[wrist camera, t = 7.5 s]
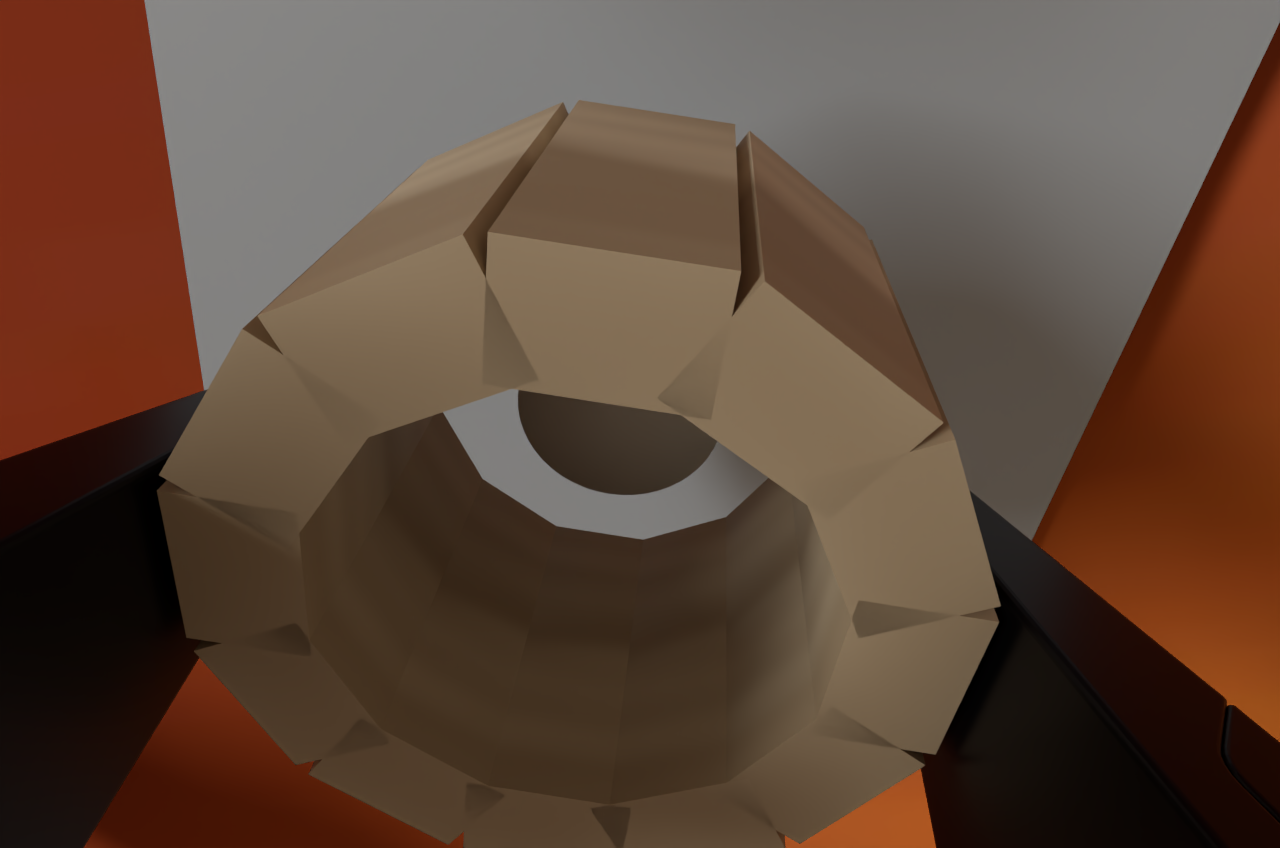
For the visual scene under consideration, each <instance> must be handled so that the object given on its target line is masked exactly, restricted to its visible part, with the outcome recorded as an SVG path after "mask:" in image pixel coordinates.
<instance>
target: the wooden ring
mask: <svg viewBox="0 0 1280 848" xmlns="http://www.w3.org/2000/svg"><path fill="white" fill-rule="evenodd" d="M510 389H516V390H522V391H529V392H535V393H541V394H548V395H554V396H561V397H567V398H574V399H580V400H587V401H593V402H599V403H606V404H612V405H619V406H625V407H632V408H638V409H644V410H651V411H657V412H664V413H670V414H677V415H681V416H683V417H684V418H686V419H687V420H688V421H690V422H691V423H693V424H694V425H695V426H697V427H698V428H700V429H701V430H702V431H704V432H705V433H707V434H708V435H709V436H711V437H712V438H714V439H715V440H716V441H718V442H719V443H721V444H722V445H723V446H725V447H726V448H728V449H729V450H730V451H732V452H733V453H735V454H736V455H737V456H739V457H740V458H742V459H743V460H744V461H746V462H747V463H749V464H750V465H751V466H753V467H754V468H756V469H757V470H758V471H760V472H761V473H763V474H764V475H765V476H767V477H768V479H767V480H766V481H765V482H763V483H762V484H761V485H760V486H759V487H758V488H757V489H756V490H755V491H754V492H753V493H752V494H750V495H749V496H748V497H747V498H746V499H745V500H744V501H743V502H742V503H741V504H740V505H739V506H737V507H736V508H735V509H734V510H733V511H732V512H731V513H730V514H729V515H728V516H727V517H724V518H720V519H717V520H713V521H709V522H706V523H702V524H698V525H695V526H691V527H688V528H684V529H680V530H677V531H673V532H669V533H666V534H662V535H658V536H655V537H651V538H647V539H644V540H642V539H636V538H629V537H623V536H617V535H610V534H604V533H597V532H591V531H585V530H578V529H572V528H565V527H559V526H555V525H554V524H552V523H551V522H549V521H548V520H546V519H544V518H543V517H541V516H540V515H538V514H537V513H535V512H534V511H532V510H530V509H529V508H527V507H526V506H524V505H523V504H521V503H519V502H518V501H516V500H515V499H513V498H512V497H510V496H509V495H507V494H505V493H504V492H502V491H501V490H499V489H498V488H496V487H494V486H493V485H491V484H490V483H488V482H487V481H485V480H484V479H482V477H481V475H480V474H479V472H478V470H477V468H476V467H475V465H474V463H473V462H472V460H471V458H470V457H469V455H468V453H467V452H466V450H465V448H464V447H463V445H462V443H461V442H460V440H459V438H458V437H457V435H456V433H455V432H454V430H453V428H452V427H451V425H450V423H449V422H448V420H447V418H446V417H445V415H444V413H443V412H445V411H448V410H451V409H454V408H457V407H460V406H463V405H465V404H468V403H471V402H474V401H477V400H480V399H483V398H486V397H489V396H492V395H495V394H498V393H501V392H504V391H507V390H510ZM159 476H161V477H163V478H165V479H166V480H167V481H166V482H165V483H164V484H163V485H162V486H161V487H160V488H159V489H158V490H157V494H158V499H159V504H160V509H161V514H162V519H163V524H164V529H165V534H166V539H167V544H168V549H169V554H170V559H171V563H172V568H173V573H174V578H175V583H176V588H177V593H178V598H179V603H180V608H181V613H182V618H183V623H184V628H185V633H186V638H192V639H198V640H201V641H200V643H199V644H198V646H197V647H196V649H195V650H194V652H195V653H196V654H197V655H198V656H199V658H200V659H201V660H202V661H203V662H204V663H205V664H206V665H207V666H208V668H209V669H210V670H211V671H212V672H213V673H214V674H215V675H216V677H217V678H218V679H219V680H220V681H221V682H222V683H223V684H224V685H225V687H226V688H227V689H228V690H229V691H230V692H231V693H232V694H233V696H234V697H235V698H236V699H237V700H238V701H239V702H240V703H241V704H242V706H243V707H244V708H245V709H246V710H247V711H248V712H249V713H250V715H251V716H252V717H253V718H254V719H255V720H256V721H257V722H258V723H259V725H260V726H261V727H262V728H263V729H264V730H265V731H266V732H267V734H268V735H269V736H270V737H271V738H272V739H273V740H274V741H275V742H276V744H277V745H278V746H279V747H280V748H281V749H282V750H283V751H284V752H285V754H286V755H287V756H288V757H289V758H290V759H291V760H292V761H293V763H294V764H295V765H298V764H302V763H307V762H311V761H314V763H313V765H312V768H311V770H310V772H309V775H311V776H313V777H315V778H317V779H319V780H321V781H323V782H325V783H327V784H328V785H330V786H332V787H334V788H336V789H338V790H340V791H342V792H344V793H346V794H348V795H350V796H352V797H354V798H356V799H358V800H360V801H362V802H364V803H366V804H368V805H370V806H372V807H374V808H376V809H378V810H380V811H382V812H384V813H386V814H388V815H390V816H392V817H394V818H396V819H398V820H400V821H402V822H404V823H406V824H408V825H410V826H412V827H414V828H416V829H418V830H420V831H422V832H424V833H426V834H428V835H430V836H432V837H434V838H436V839H438V840H440V841H442V842H444V843H446V844H450V843H451V842H452V841H453V840H454V839H455V838H457V837H458V836H459V835H460V834H461V833H463V832H464V844H463V848H785V836H787V837H789V838H791V839H792V840H794V841H796V842H798V843H799V844H800V843H802V842H804V841H805V840H807V839H808V838H810V837H812V836H813V835H815V834H816V833H818V832H820V831H821V830H823V829H824V828H826V827H828V826H829V825H831V824H832V823H834V822H836V821H837V820H839V819H840V818H842V817H844V816H845V815H847V814H848V813H850V812H852V811H853V810H855V809H856V808H858V807H860V806H861V805H863V804H864V803H866V802H868V801H869V800H871V799H872V798H874V797H876V796H877V795H879V794H880V793H882V792H884V791H885V790H887V789H888V788H890V787H892V786H893V785H895V784H896V783H898V782H900V781H901V780H903V779H904V778H906V777H908V776H909V775H911V774H912V773H914V772H916V771H917V770H919V769H920V768H922V767H924V766H925V761H924V757H923V753H928V754H935V755H936V753H937V751H938V749H939V746H940V744H941V742H942V740H943V738H944V736H945V734H946V732H947V730H948V728H949V726H950V724H951V721H952V719H953V717H954V715H955V713H956V711H957V709H958V707H959V705H960V703H961V701H962V699H963V696H964V694H965V692H966V690H967V688H968V686H969V684H970V682H971V680H972V678H973V676H974V674H975V671H976V669H977V667H978V665H979V663H980V661H981V659H982V657H983V655H984V653H985V651H986V649H987V646H988V644H989V642H990V640H991V638H992V636H993V634H994V632H995V630H996V628H997V626H998V624H999V620H998V617H997V615H996V612H995V609H994V608H996V607H1000V606H1001V605H1000V601H999V597H998V594H997V590H996V586H995V583H994V579H993V575H992V572H991V568H990V564H989V561H988V557H987V554H986V550H985V546H984V543H983V539H982V535H981V532H980V528H979V524H978V521H977V517H976V513H975V510H974V506H973V502H972V499H971V495H970V491H969V488H968V484H967V480H966V477H965V473H964V469H963V466H962V462H961V458H960V455H959V451H958V447H957V444H956V440H955V438H954V435H953V433H952V430H951V428H950V426H949V423H948V421H947V418H946V416H945V414H944V411H943V409H942V406H941V404H940V402H939V399H938V397H937V394H936V392H935V390H934V387H933V385H932V383H931V380H930V378H929V375H928V373H927V371H926V368H925V366H924V363H923V361H922V359H921V356H920V354H919V351H918V349H917V347H916V344H915V342H914V339H913V337H912V335H911V332H910V330H909V327H908V325H907V323H906V320H905V318H904V315H903V313H902V311H901V308H900V306H899V303H898V301H897V299H896V296H895V294H894V292H893V289H892V287H891V284H890V282H889V280H888V277H887V275H886V272H885V270H884V268H883V265H882V263H881V260H880V258H879V256H878V253H877V251H876V248H875V246H874V244H873V241H872V239H871V240H869V239H868V236H867V234H866V231H865V229H864V227H863V226H862V225H861V224H859V223H858V222H857V221H856V220H855V219H854V218H852V217H851V216H850V215H849V214H848V213H846V212H845V211H844V210H843V209H842V208H841V207H839V206H838V205H837V204H836V203H835V202H833V201H832V200H831V199H830V198H829V197H828V196H826V195H825V194H824V193H823V192H822V191H820V190H819V189H818V188H817V187H816V186H814V185H813V184H812V183H811V182H810V181H809V180H807V179H806V178H805V177H804V176H803V175H801V174H800V173H799V172H798V171H797V170H796V169H794V168H793V167H792V166H791V165H790V164H788V163H787V162H786V161H785V160H784V159H783V158H781V157H780V156H779V155H778V154H777V153H775V152H774V151H773V150H772V149H771V148H770V147H768V146H767V145H766V144H765V143H764V142H762V141H761V140H760V139H759V138H758V137H757V136H755V135H754V134H753V133H752V132H751V131H749V132H748V133H747V134H746V136H745V137H744V138H743V139H742V141H741V142H740V143H739V144H738V145H737V147H736V134H735V124H731V123H725V122H718V121H712V120H705V119H699V118H692V117H686V116H679V115H673V114H667V113H660V112H654V111H647V110H641V109H634V108H628V107H621V106H615V105H608V104H602V103H595V102H589V101H583V100H578V102H577V103H576V105H575V106H574V108H573V109H572V111H571V112H570V113H569V114H568V112H567V110H566V107H565V105H564V103H563V102H562V103H559V104H557V105H555V106H552V107H550V108H548V109H545V110H543V111H541V112H538V113H536V114H534V115H531V116H529V117H527V118H524V119H522V120H520V121H517V122H515V123H513V124H510V125H508V126H506V127H503V128H501V129H499V130H496V131H494V132H492V133H489V134H487V135H485V136H482V137H480V138H478V139H475V140H473V141H471V142H468V143H466V144H464V145H461V146H459V147H457V148H454V149H452V150H450V151H447V152H445V153H443V154H440V155H438V156H436V157H433V158H431V159H429V160H427V161H426V162H425V163H424V164H423V165H422V166H421V167H420V168H419V169H417V170H416V171H415V172H413V173H412V174H411V175H410V176H409V177H408V178H407V179H406V180H405V181H404V182H402V183H401V184H400V185H399V186H398V187H397V188H396V189H395V190H394V191H393V192H392V193H390V194H389V195H388V196H387V197H386V198H385V199H384V200H383V201H382V202H381V203H379V204H378V205H377V206H376V207H375V208H374V209H373V210H372V211H371V212H370V213H368V214H367V215H366V216H365V217H364V218H363V219H362V220H361V221H360V222H359V223H358V224H356V225H355V226H354V227H353V228H352V229H351V230H350V231H349V232H348V233H347V234H345V235H344V236H343V237H342V238H341V239H340V240H339V241H338V242H337V243H336V244H335V245H333V246H332V247H331V248H330V249H329V250H328V251H327V252H326V253H325V254H324V255H322V256H321V257H320V258H319V259H318V260H317V261H316V262H315V263H314V264H313V265H311V266H310V267H309V268H308V269H307V270H306V271H305V272H304V273H303V274H302V275H301V276H299V277H298V278H297V279H296V280H295V281H294V282H293V283H292V284H291V285H290V286H288V287H287V288H286V289H285V290H284V291H283V292H282V293H281V294H280V295H279V296H278V297H276V298H275V299H274V300H273V301H272V302H271V303H270V304H269V305H268V306H267V307H265V308H264V309H263V310H262V311H261V312H260V313H259V314H258V315H257V316H256V317H254V318H253V319H252V320H251V321H250V322H249V323H248V324H247V325H246V326H245V327H244V328H242V330H241V332H240V333H239V335H238V337H237V339H236V340H235V342H234V344H233V346H232V347H231V349H230V351H229V353H228V355H227V356H226V358H225V360H224V362H223V363H222V365H221V367H220V369H219V370H218V372H217V374H216V376H215V377H214V379H213V381H212V383H211V384H210V386H209V388H208V390H207V391H206V393H205V395H204V397H203V398H202V400H201V402H200V404H199V406H198V407H197V409H196V411H195V413H194V414H193V416H192V418H191V420H190V421H189V423H188V425H187V427H186V428H185V430H184V432H183V434H182V435H181V437H180V439H179V441H178V442H177V444H176V446H175V448H174V449H173V451H172V453H171V455H170V457H169V458H168V460H167V462H166V464H165V465H164V467H163V469H162V471H161V472H160V474H159Z"/></svg>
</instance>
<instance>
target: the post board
mask: <svg viewBox="0 0 1280 848" xmlns="http://www.w3.org/2000/svg"><path fill="white" fill-rule="evenodd" d="M145 6H146V13H147V19H148V26H149V32H150V39H151V46H152V52H153V59H154V65H155V72H156V78H157V85H158V91H159V98H160V104H161V111H162V117H163V124H164V130H165V137H166V143H167V150H168V156H169V163H170V170H171V176H172V183H173V189H174V196H175V202H176V209H177V215H178V222H179V228H180V235H181V241H182V248H183V254H184V261H185V267H186V274H187V280H188V287H189V294H190V300H191V307H192V313H193V320H194V326H195V333H196V339H197V346H198V352H199V359H200V365H201V372H202V378H203V385H204V390H207V389H208V388H209V386H210V384H211V383H212V381H213V379H214V377H215V376H216V374H217V372H218V370H219V369H220V367H221V365H222V363H223V362H224V360H225V358H226V356H227V355H228V353H229V351H230V349H231V347H232V346H233V344H234V342H235V340H236V339H237V337H238V335H239V333H240V332H241V330H242V328H244V327H245V326H246V325H247V324H248V323H249V322H250V321H251V320H252V319H253V318H254V317H256V316H257V315H258V314H259V313H260V312H261V311H262V310H263V309H264V308H265V307H267V306H268V305H269V304H270V303H271V302H272V301H273V300H274V299H275V298H276V297H278V296H279V295H280V294H281V293H282V292H283V291H284V290H285V289H286V288H287V287H288V286H290V285H291V284H292V283H293V282H294V281H295V280H296V279H297V278H298V277H299V276H301V275H302V274H303V273H304V272H305V271H306V270H307V269H308V268H309V267H310V266H311V265H313V264H314V263H315V262H316V261H317V260H318V259H319V258H320V257H321V256H322V255H324V254H325V253H326V252H327V251H328V250H329V249H330V248H331V247H332V246H333V245H335V244H336V243H337V242H338V241H339V240H340V239H341V238H342V237H343V236H344V235H345V234H347V233H348V232H349V231H350V230H351V229H352V228H353V227H354V226H355V225H356V224H358V223H359V222H360V221H361V220H362V219H363V218H364V217H365V216H366V215H367V214H368V213H370V212H371V211H372V210H373V209H374V208H375V207H376V206H377V205H378V204H379V203H381V202H382V201H383V200H384V199H385V198H386V197H387V196H388V195H389V194H390V193H392V192H393V191H394V190H395V189H396V188H397V187H398V186H399V185H400V184H401V183H402V182H404V181H405V180H406V179H407V178H408V177H409V176H410V175H411V174H412V173H413V172H415V171H416V170H417V169H419V168H420V167H421V166H422V165H423V164H424V163H425V162H426V161H427V160H429V159H431V158H433V157H436V156H438V155H440V154H443V153H445V152H447V151H450V150H452V149H454V148H457V147H459V146H461V145H464V144H466V143H468V142H471V141H473V140H475V139H478V138H480V137H482V136H485V135H487V134H489V133H492V132H494V131H496V130H499V129H501V128H503V127H506V126H508V125H510V124H513V123H515V122H517V121H520V120H522V119H524V118H527V117H529V116H531V115H534V114H536V113H538V112H541V111H543V110H545V109H548V108H550V107H552V106H555V105H557V104H559V103H562V102H563V103H564V105H565V107H566V110H567V112H568V114H569V113H570V112H571V111H572V109H573V108H574V106H575V105H576V103H577V102H578V100H583V101H589V102H595V103H602V104H608V105H615V106H621V107H628V108H634V109H641V110H647V111H654V112H660V113H667V114H673V115H679V116H686V117H692V118H699V119H705V120H712V121H718V122H725V123H731V124H735V134H736V147H737V145H738V144H739V143H740V142H741V141H742V139H743V138H744V137H745V136H746V134H747V133H748V132H749V131H751V132H752V133H753V134H754V135H755V136H757V137H758V138H759V139H760V140H761V141H762V142H764V143H765V144H766V145H767V146H768V147H770V148H771V149H772V150H773V151H774V152H775V153H777V154H778V155H779V156H780V157H781V158H783V159H784V160H785V161H786V162H787V163H788V164H790V165H791V166H792V167H793V168H794V169H796V170H797V171H798V172H799V173H800V174H801V175H803V176H804V177H805V178H806V179H807V180H809V181H810V182H811V183H812V184H813V185H814V186H816V187H817V188H818V189H819V190H820V191H822V192H823V193H824V194H825V195H826V196H828V197H829V198H830V199H831V200H832V201H833V202H835V203H836V204H837V205H838V206H839V207H841V208H842V209H843V210H844V211H845V212H846V213H848V214H849V215H850V216H851V217H852V218H854V219H855V220H856V221H857V222H858V223H859V224H861V225H862V226H863V227H864V229H865V231H866V234H867V236H868V239H869V240H871V239H872V241H873V244H874V246H875V248H876V251H877V253H878V256H879V258H880V260H881V263H882V265H883V268H884V270H885V272H886V275H887V277H888V280H889V282H890V284H891V287H892V289H893V292H894V294H895V296H896V299H897V301H898V303H899V306H900V308H901V311H902V313H903V315H904V318H905V320H906V323H907V325H908V327H909V330H910V332H911V335H912V337H913V339H914V342H915V344H916V347H917V349H918V351H919V354H920V356H921V359H922V361H923V363H924V366H925V368H926V371H927V373H928V375H929V378H930V380H931V383H932V385H933V387H934V390H935V392H936V394H937V397H938V399H939V402H940V404H941V406H942V409H943V411H944V414H945V416H946V418H947V421H948V423H949V426H950V428H951V430H952V433H953V435H954V438H955V440H956V444H957V447H958V451H959V455H960V458H961V462H962V466H963V469H964V473H965V477H966V480H967V484H968V488H969V490H970V491H971V492H972V493H974V494H975V495H976V496H977V497H979V498H980V499H981V500H982V501H984V502H985V503H986V504H987V505H988V506H990V507H991V508H992V509H993V510H995V511H996V512H997V513H998V514H999V515H1001V516H1002V517H1003V518H1004V519H1006V520H1007V521H1008V522H1009V523H1011V524H1012V525H1013V526H1014V527H1015V528H1017V529H1018V530H1019V531H1020V532H1022V533H1023V534H1024V535H1025V536H1027V537H1028V538H1029V539H1030V540H1031V541H1032V539H1033V537H1034V535H1035V533H1036V530H1037V528H1038V526H1039V524H1040V522H1041V520H1042V518H1043V516H1044V514H1045V512H1046V510H1047V507H1048V505H1049V503H1050V501H1051V499H1052V497H1053V495H1054V493H1055V491H1056V489H1057V487H1058V484H1059V482H1060V480H1061V478H1062V476H1063V474H1064V472H1065V470H1066V468H1067V466H1068V464H1069V461H1070V459H1071V457H1072V455H1073V453H1074V451H1075V449H1076V447H1077V445H1078V443H1079V441H1080V438H1081V436H1082V434H1083V432H1084V430H1085V428H1086V426H1087V424H1088V422H1089V420H1090V418H1091V416H1092V413H1093V411H1094V409H1095V407H1096V405H1097V403H1098V401H1099V399H1100V397H1101V395H1102V393H1103V390H1104V388H1105V386H1106V384H1107V382H1108V380H1109V378H1110V376H1111V374H1112V372H1113V370H1114V367H1115V365H1116V363H1117V361H1118V359H1119V357H1120V355H1121V353H1122V351H1123V349H1124V347H1125V344H1126V342H1127V340H1128V338H1129V336H1130V334H1131V332H1132V330H1133V328H1134V326H1135V324H1136V321H1137V319H1138V317H1139V315H1140V313H1141V311H1142V309H1143V307H1144V305H1145V303H1146V301H1147V298H1148V296H1149V294H1150V292H1151V290H1152V288H1153V286H1154V284H1155V282H1156V280H1157V278H1158V275H1159V273H1160V271H1161V269H1162V267H1163V265H1164V263H1165V261H1166V259H1167V257H1168V255H1169V253H1170V250H1171V248H1172V246H1173V244H1174V242H1175V240H1176V238H1177V236H1178V234H1179V232H1180V230H1181V227H1182V225H1183V223H1184V221H1185V219H1186V217H1187V215H1188V213H1189V211H1190V209H1191V207H1192V204H1193V202H1194V200H1195V198H1196V196H1197V194H1198V192H1199V190H1200V188H1201V186H1202V184H1203V181H1204V179H1205V177H1206V175H1207V173H1208V171H1209V169H1210V167H1211V165H1212V163H1213V161H1214V158H1215V156H1216V154H1217V152H1218V150H1219V148H1220V146H1221V144H1222V142H1223V140H1224V138H1225V135H1226V133H1227V131H1228V129H1229V127H1230V125H1231V123H1232V121H1233V119H1234V117H1235V115H1236V112H1237V110H1238V108H1239V106H1240V104H1241V102H1242V100H1243V98H1244V96H1245V94H1246V92H1247V90H1248V87H1249V85H1250V83H1251V81H1252V79H1253V77H1254V75H1255V73H1256V71H1257V69H1258V67H1259V64H1260V62H1261V60H1262V58H1263V56H1264V54H1265V52H1266V50H1267V48H1268V46H1269V44H1270V41H1271V39H1272V37H1273V35H1274V33H1275V31H1276V29H1277V27H1278V25H1279V23H1280V0H145ZM443 413H444V415H445V417H446V418H447V420H448V422H449V423H450V425H451V427H452V428H453V430H454V432H455V433H456V435H457V437H458V438H459V440H460V442H461V443H462V445H463V447H464V448H465V450H466V452H467V453H468V455H469V457H470V458H471V460H472V462H473V463H474V465H475V467H476V468H477V470H478V472H479V474H480V475H481V477H482V479H484V480H485V481H487V482H488V483H490V484H491V485H493V486H494V487H496V488H498V489H499V490H501V491H502V492H504V493H505V494H507V495H509V496H510V497H512V498H513V499H515V500H516V501H518V502H519V503H521V504H523V505H524V506H526V507H527V508H529V509H530V510H532V511H534V512H535V513H537V514H538V515H540V516H541V517H543V518H544V519H546V520H548V521H549V522H551V523H552V524H554V525H555V526H559V527H565V528H572V529H578V530H585V531H591V532H597V533H604V534H610V535H617V536H623V537H629V538H636V539H642V540H644V539H647V538H651V537H655V536H658V535H662V534H666V533H669V532H673V531H677V530H680V529H684V528H688V527H691V526H695V525H698V524H702V523H706V522H709V521H713V520H717V519H720V518H724V517H727V516H728V515H729V514H730V513H731V512H732V511H733V510H734V509H735V508H736V507H737V506H739V505H740V504H741V503H742V502H743V501H744V500H745V499H746V498H747V497H748V496H749V495H750V494H752V493H753V492H754V491H755V490H756V489H757V488H758V487H759V486H760V485H761V484H762V483H763V482H765V481H766V480H767V479H768V477H767V476H765V475H764V474H763V473H761V472H760V471H758V470H757V469H756V468H754V467H753V466H751V465H750V464H749V463H747V462H746V461H744V460H743V459H742V458H740V457H739V456H737V455H736V454H735V453H733V452H732V451H730V450H729V449H728V448H726V447H725V446H723V445H722V444H721V443H719V442H718V441H716V440H715V439H714V438H712V437H711V436H709V435H708V434H707V433H705V432H704V431H702V430H701V429H700V428H698V427H697V426H695V425H694V424H693V423H691V422H690V421H688V420H687V419H686V418H684V417H683V416H681V415H677V414H670V413H664V412H657V411H651V410H644V409H638V408H632V407H625V406H619V405H612V404H606V403H599V402H593V401H587V400H580V399H574V398H567V397H561V396H554V395H548V394H541V393H535V392H529V391H522V390H516V389H510V390H507V391H504V392H501V393H498V394H495V395H492V396H489V397H486V398H483V399H480V400H477V401H474V402H471V403H468V404H465V405H463V406H460V407H457V408H454V409H451V410H448V411H445V412H443Z"/></svg>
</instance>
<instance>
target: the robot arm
mask: <svg viewBox="0 0 1280 848" xmlns="http://www.w3.org/2000/svg"><path fill="white" fill-rule="evenodd" d="M207 390H208V389H207ZM207 390H204V391H201V392H198V393H195V394H193V395H190V396H187V397H184V398H181V399H178V400H175V401H172V402H169V403H166V404H163V405H161V406H158V407H155V408H152V409H149V410H146V411H143V412H140V413H137V414H134V415H131V416H129V417H126V418H123V419H120V420H117V421H114V422H111V423H108V424H105V425H102V426H99V427H96V428H94V429H91V430H88V431H85V432H82V433H79V434H76V435H73V436H70V437H67V438H64V439H62V440H59V441H56V442H53V443H50V444H47V445H44V446H41V447H38V448H35V449H32V450H30V451H27V452H24V453H21V454H18V455H15V456H12V457H9V458H6V459H3V460H0V848H84V846H85V845H86V843H87V841H88V840H89V838H90V836H91V835H92V833H93V831H94V830H95V828H96V826H97V825H98V823H99V822H100V820H101V818H102V817H103V815H104V813H105V812H106V810H107V808H108V807H109V805H110V803H111V802H112V800H113V799H114V797H115V795H116V794H117V792H118V790H119V789H120V787H121V785H122V784H123V782H124V780H125V779H126V777H127V776H128V774H129V772H130V771H131V769H132V767H133V766H134V764H135V762H136V761H137V759H138V757H139V756H140V754H141V753H142V751H143V749H144V748H145V746H146V744H147V743H148V741H149V739H150V738H151V736H152V735H153V733H154V731H155V730H156V728H157V726H158V725H159V723H160V721H161V720H162V718H163V716H164V715H165V713H166V712H167V710H168V708H169V707H170V705H171V703H172V702H173V700H174V698H175V697H176V695H177V693H178V692H179V690H180V689H181V687H182V685H183V684H184V682H185V680H186V679H187V677H188V675H189V674H190V672H191V670H192V669H193V667H194V666H195V664H196V662H197V661H198V659H199V656H198V655H197V654H196V653H195V652H194V650H195V649H196V647H197V646H198V644H199V643H200V641H201V640H198V639H192V638H186V633H185V628H184V623H183V618H182V613H181V608H180V603H179V598H178V593H177V588H176V583H175V578H174V573H173V568H172V563H171V559H170V554H169V549H168V544H167V539H166V534H165V529H164V524H163V519H162V514H161V509H160V504H159V499H158V494H157V490H158V489H159V488H160V487H161V486H162V485H163V484H164V483H165V482H166V481H167V480H166V479H165V478H163V477H161V476H159V474H160V472H161V471H162V469H163V467H164V465H165V464H166V462H167V460H168V458H169V457H170V455H171V453H172V451H173V449H174V448H175V446H176V444H177V442H178V441H179V439H180V437H181V435H182V434H183V432H184V430H185V428H186V427H187V425H188V423H189V421H190V420H191V418H192V416H193V414H194V413H195V411H196V409H197V407H198V406H199V404H200V402H201V400H202V398H203V397H204V395H205V393H206V391H207ZM969 491H970V490H969ZM970 495H971V499H972V502H973V506H974V510H975V513H976V517H977V521H978V524H979V528H980V532H981V535H982V539H983V543H984V546H985V550H986V554H987V557H988V561H989V564H990V568H991V572H992V575H993V579H994V583H995V586H996V590H997V594H998V597H999V601H1000V605H1001V606H1000V607H996V608H994V609H995V612H996V615H997V617H998V620H999V624H998V626H997V628H996V630H995V632H994V634H993V636H992V638H991V640H990V642H989V644H988V646H987V649H986V651H985V653H984V655H983V657H982V659H981V661H980V663H979V665H978V667H977V669H976V671H975V674H974V676H973V678H972V680H971V682H970V684H969V686H968V688H967V690H966V692H965V694H964V696H963V699H962V701H961V703H960V705H959V707H958V709H957V711H956V713H955V715H954V717H953V719H952V721H951V724H950V726H949V728H948V730H947V732H946V734H945V736H944V738H943V740H942V742H941V744H940V746H939V749H938V751H937V753H936V755H935V754H928V753H923V757H924V761H925V766H924V767H922V768H921V772H922V777H923V783H924V788H925V793H926V798H927V803H928V808H929V813H930V818H931V823H932V828H933V833H934V839H935V844H936V848H1280V742H1279V741H1278V740H1276V739H1275V738H1274V737H1272V736H1271V735H1270V734H1269V733H1267V732H1266V731H1265V730H1264V729H1263V728H1261V727H1260V726H1259V725H1258V724H1256V723H1255V722H1254V721H1253V720H1252V719H1250V718H1249V717H1248V716H1247V715H1246V714H1244V713H1243V712H1242V711H1241V710H1239V709H1238V708H1237V707H1236V706H1234V705H1228V706H1227V700H1226V699H1225V698H1224V697H1223V696H1222V695H1221V694H1220V693H1218V692H1217V691H1216V690H1215V689H1213V688H1212V687H1211V686H1210V685H1208V684H1207V683H1206V682H1205V681H1204V680H1202V679H1201V678H1200V677H1199V676H1197V675H1196V674H1195V673H1194V672H1192V671H1191V670H1190V669H1189V668H1188V667H1186V666H1185V665H1184V664H1183V663H1181V662H1180V661H1179V660H1178V659H1176V658H1175V657H1174V656H1173V655H1172V654H1170V653H1169V652H1168V651H1167V650H1165V649H1164V648H1163V647H1162V646H1161V645H1159V644H1158V643H1157V642H1156V641H1154V640H1153V639H1152V638H1151V637H1149V636H1148V635H1147V634H1146V633H1145V632H1143V631H1142V630H1141V629H1140V628H1138V627H1137V626H1136V625H1135V624H1133V623H1132V622H1131V621H1130V620H1129V619H1127V618H1126V617H1125V616H1124V615H1122V614H1121V613H1120V612H1119V611H1117V610H1116V609H1115V608H1114V607H1113V606H1111V605H1110V604H1109V603H1108V602H1106V601H1105V600H1104V599H1103V598H1102V597H1100V596H1099V595H1098V594H1097V593H1095V592H1094V591H1093V590H1092V589H1090V588H1089V587H1088V586H1087V585H1086V584H1084V583H1083V582H1082V581H1081V580H1079V579H1078V578H1077V577H1076V576H1074V575H1073V574H1072V573H1071V572H1070V571H1068V570H1067V569H1066V568H1065V567H1063V566H1062V565H1061V564H1060V563H1058V562H1057V561H1056V560H1055V559H1054V558H1052V557H1051V556H1050V555H1049V554H1047V553H1046V552H1045V551H1044V550H1042V549H1041V548H1040V547H1039V546H1038V545H1036V544H1035V543H1034V542H1033V541H1031V540H1030V539H1029V538H1028V537H1027V536H1025V535H1024V534H1023V533H1022V532H1020V531H1019V530H1018V529H1017V528H1015V527H1014V526H1013V525H1012V524H1011V523H1009V522H1008V521H1007V520H1006V519H1004V518H1003V517H1002V516H1001V515H999V514H998V513H997V512H996V511H995V510H993V509H992V508H991V507H990V506H988V505H987V504H986V503H985V502H984V501H982V500H981V499H980V498H979V497H977V496H976V495H975V494H974V493H972V492H971V491H970Z"/></svg>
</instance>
